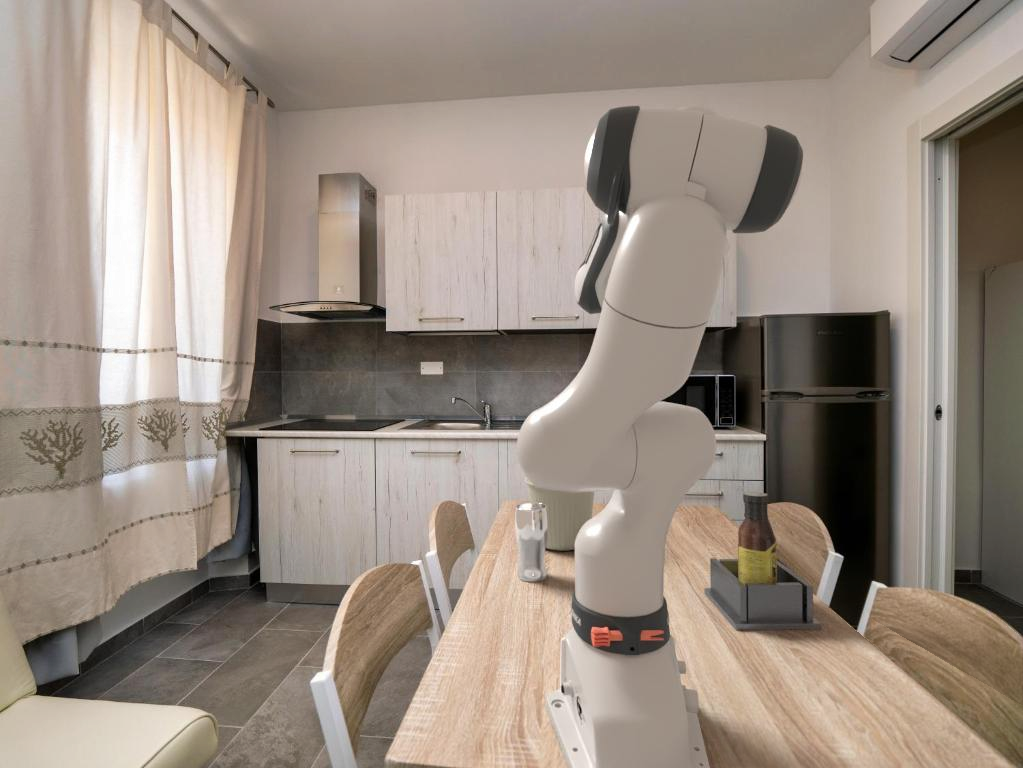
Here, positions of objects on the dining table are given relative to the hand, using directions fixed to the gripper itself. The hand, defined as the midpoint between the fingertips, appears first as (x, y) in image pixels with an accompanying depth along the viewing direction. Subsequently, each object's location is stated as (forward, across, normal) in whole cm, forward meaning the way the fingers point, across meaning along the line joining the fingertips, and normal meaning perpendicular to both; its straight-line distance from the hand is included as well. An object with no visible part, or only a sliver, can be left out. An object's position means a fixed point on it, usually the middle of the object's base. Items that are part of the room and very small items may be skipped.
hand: (639, 400), depth 102 cm
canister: (+37, +24, +14) cm, 47 cm away
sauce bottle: (+36, -12, -18) cm, 42 cm away
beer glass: (+37, +4, +22) cm, 44 cm away
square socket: (+37, -12, -18) cm, 43 cm away
